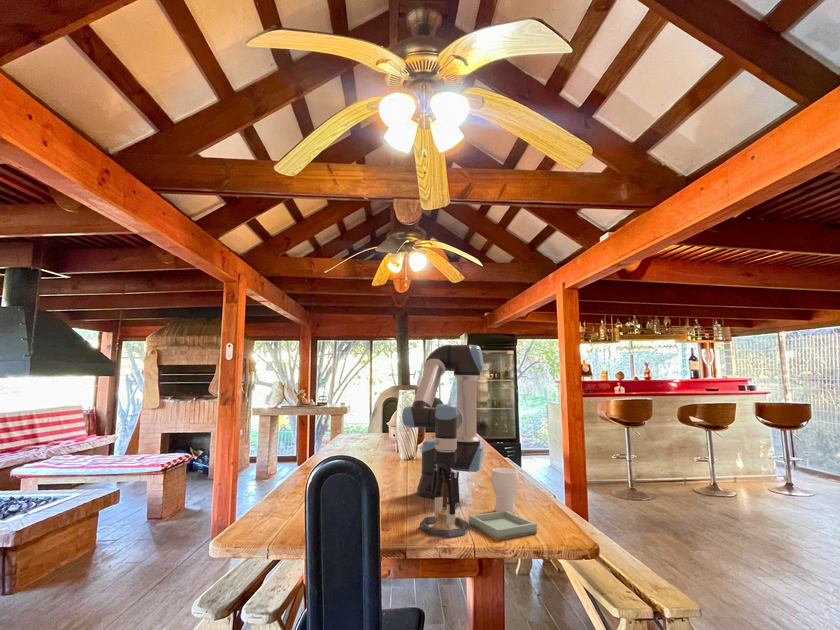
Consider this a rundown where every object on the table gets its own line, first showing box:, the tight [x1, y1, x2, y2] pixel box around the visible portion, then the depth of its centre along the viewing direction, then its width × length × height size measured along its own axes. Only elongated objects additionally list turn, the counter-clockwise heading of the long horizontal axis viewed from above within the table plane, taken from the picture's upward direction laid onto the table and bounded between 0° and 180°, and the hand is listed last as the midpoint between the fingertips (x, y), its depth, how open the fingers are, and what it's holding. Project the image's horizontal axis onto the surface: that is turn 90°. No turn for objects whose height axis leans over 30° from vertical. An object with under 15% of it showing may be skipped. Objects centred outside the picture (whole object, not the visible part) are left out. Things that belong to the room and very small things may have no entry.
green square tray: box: [468, 510, 538, 541], centre depth 150 cm, size 16×16×3 cm
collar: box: [419, 515, 470, 538], centre depth 149 cm, size 15×15×2 cm
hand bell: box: [431, 480, 458, 530], centre depth 150 cm, size 8×8×16 cm
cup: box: [490, 467, 520, 514], centre depth 171 cm, size 11×11×15 cm
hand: (444, 520), depth 149 cm, fingers open, 7 cm apart
